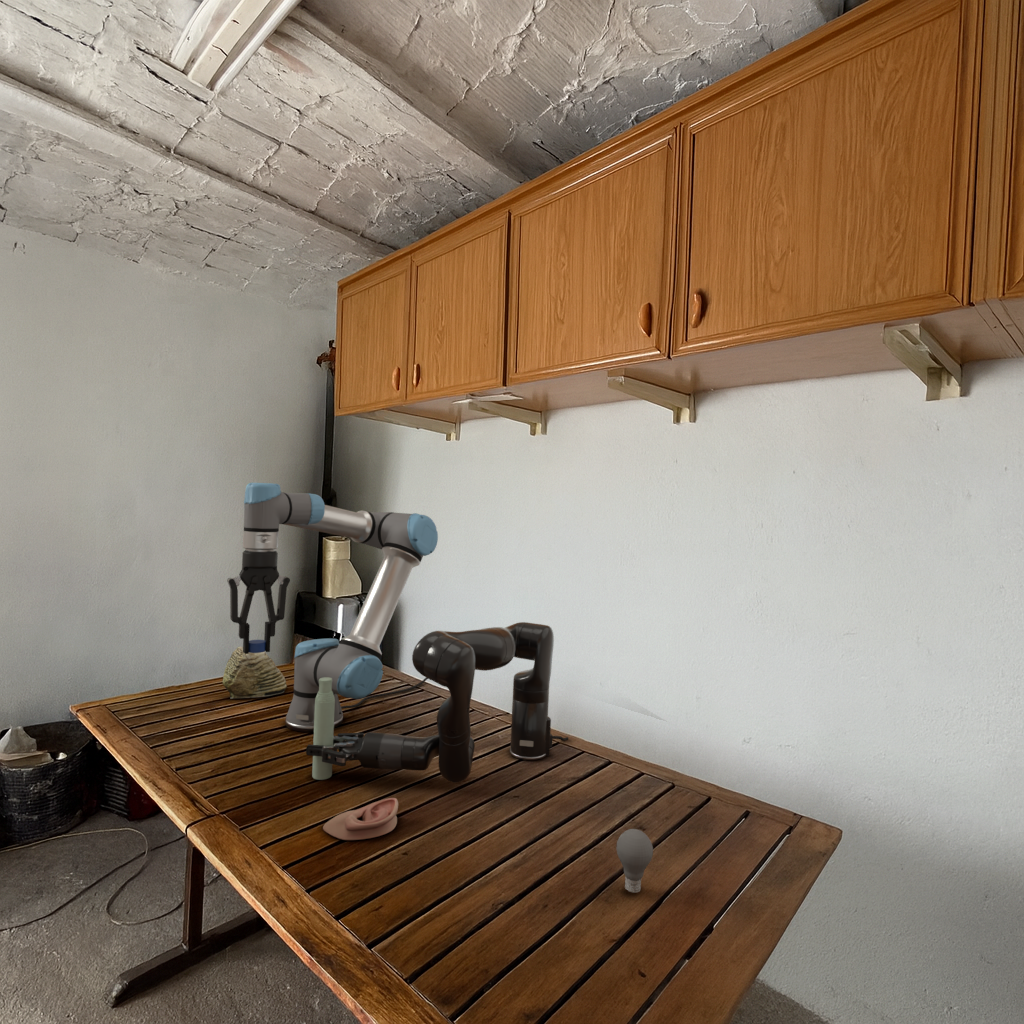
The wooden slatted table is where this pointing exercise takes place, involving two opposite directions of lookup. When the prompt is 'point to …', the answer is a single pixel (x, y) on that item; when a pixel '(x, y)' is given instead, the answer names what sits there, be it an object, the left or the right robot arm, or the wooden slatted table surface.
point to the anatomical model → (364, 821)
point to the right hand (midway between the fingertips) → (311, 745)
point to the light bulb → (634, 857)
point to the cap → (257, 646)
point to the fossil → (252, 675)
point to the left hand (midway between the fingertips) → (256, 651)
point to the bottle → (323, 726)
